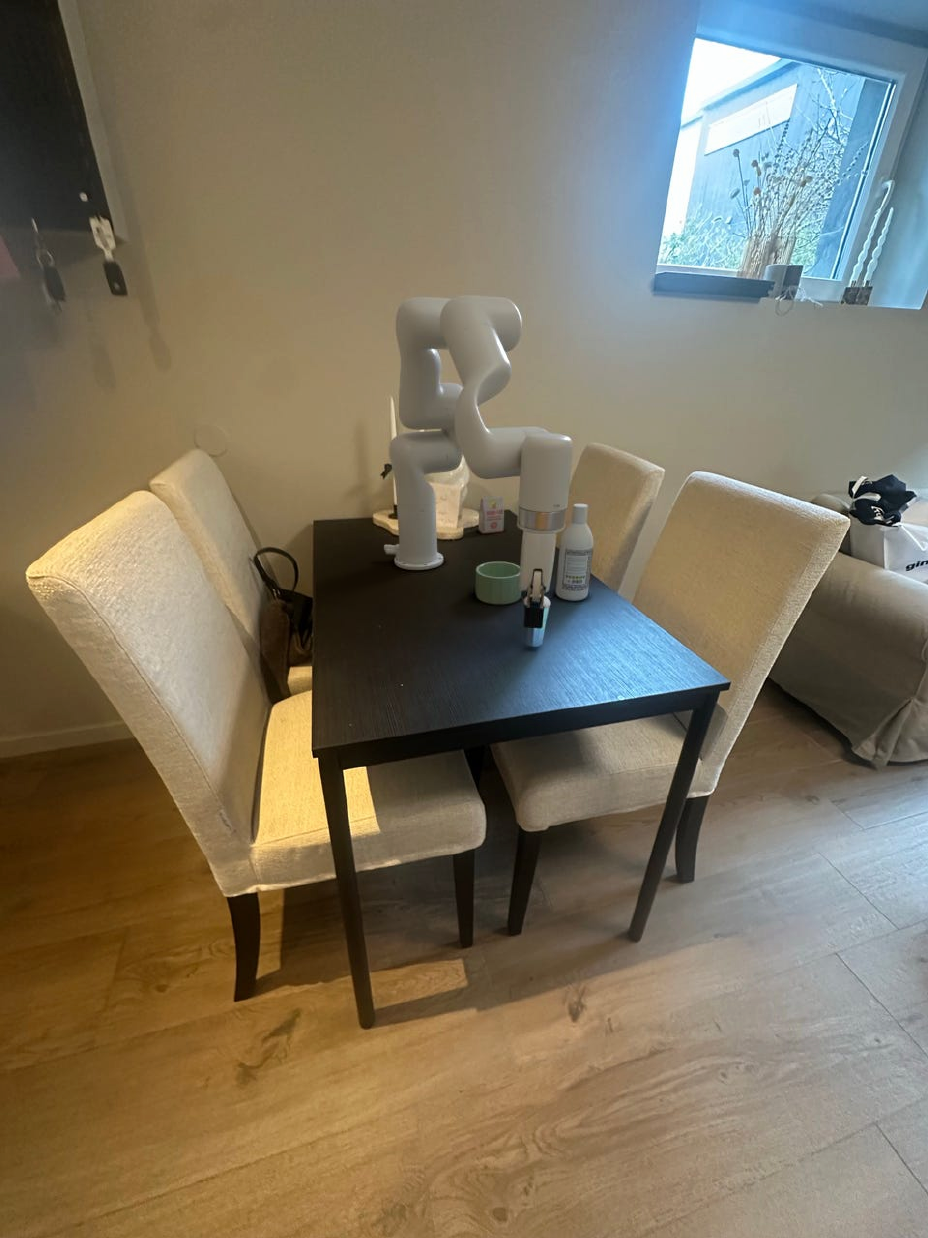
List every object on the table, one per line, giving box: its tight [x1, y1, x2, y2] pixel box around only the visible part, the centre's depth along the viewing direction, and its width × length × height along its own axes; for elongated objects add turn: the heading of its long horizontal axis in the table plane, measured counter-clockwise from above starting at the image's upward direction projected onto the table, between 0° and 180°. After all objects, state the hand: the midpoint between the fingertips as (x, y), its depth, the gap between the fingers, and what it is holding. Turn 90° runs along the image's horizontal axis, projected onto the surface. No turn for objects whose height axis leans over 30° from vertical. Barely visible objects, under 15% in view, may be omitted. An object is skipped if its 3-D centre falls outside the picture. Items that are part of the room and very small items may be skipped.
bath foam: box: [555, 503, 595, 602], centre depth 105 cm, size 7×7×20 cm
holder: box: [475, 560, 522, 605], centre depth 109 cm, size 10×10×6 cm
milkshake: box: [520, 592, 551, 648], centre depth 86 cm, size 4×5×10 cm
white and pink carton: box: [478, 496, 505, 534], centre depth 151 cm, size 4×7×10 cm, turn 109°
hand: (533, 618), depth 87 cm, fingers closed on milkshake, 4 cm apart
